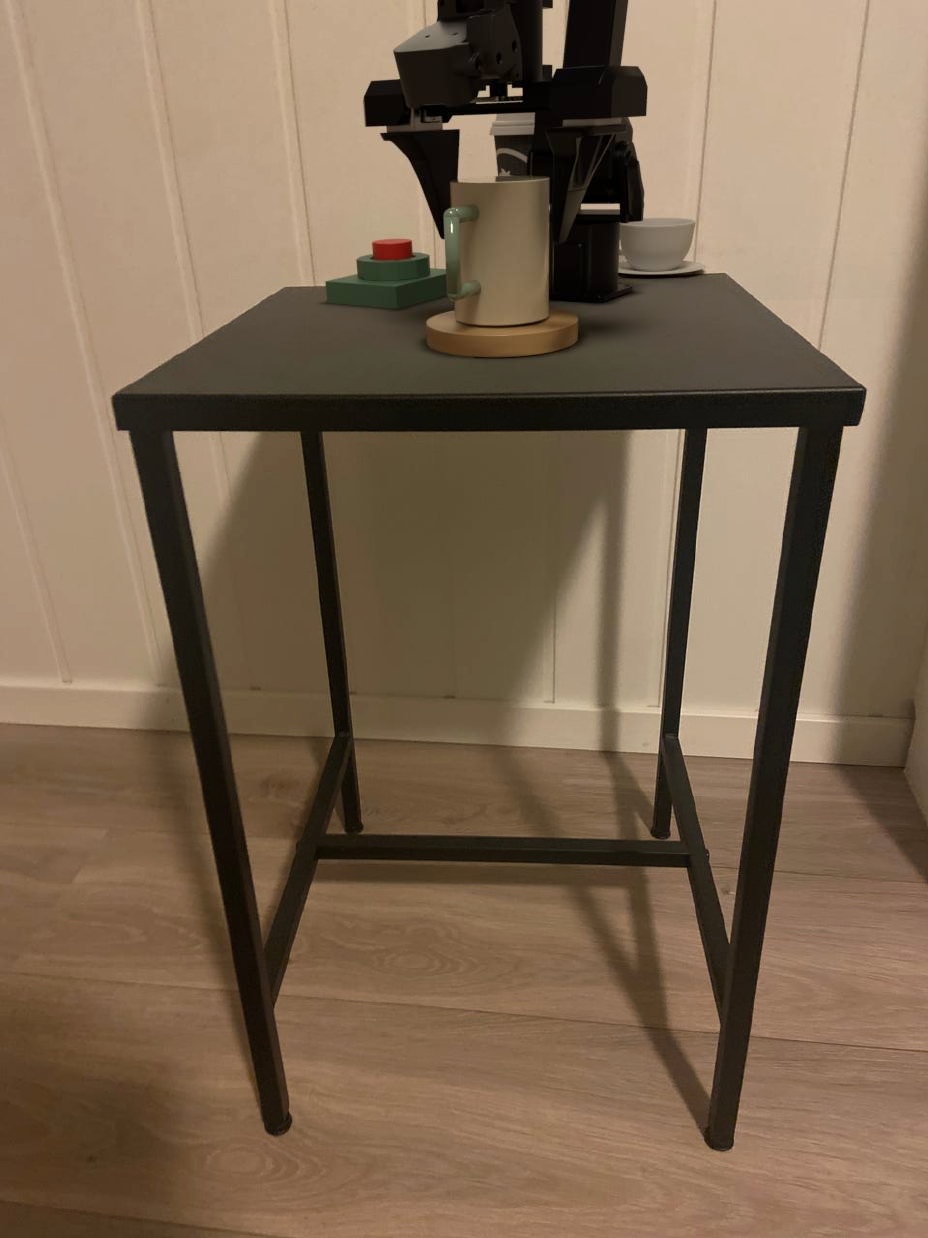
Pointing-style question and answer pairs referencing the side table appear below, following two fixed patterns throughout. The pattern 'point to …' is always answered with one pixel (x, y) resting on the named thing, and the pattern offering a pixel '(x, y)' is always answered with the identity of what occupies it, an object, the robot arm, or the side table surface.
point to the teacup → (657, 246)
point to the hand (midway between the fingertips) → (501, 240)
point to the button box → (389, 283)
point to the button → (392, 249)
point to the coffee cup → (516, 152)
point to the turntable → (502, 336)
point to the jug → (498, 249)
